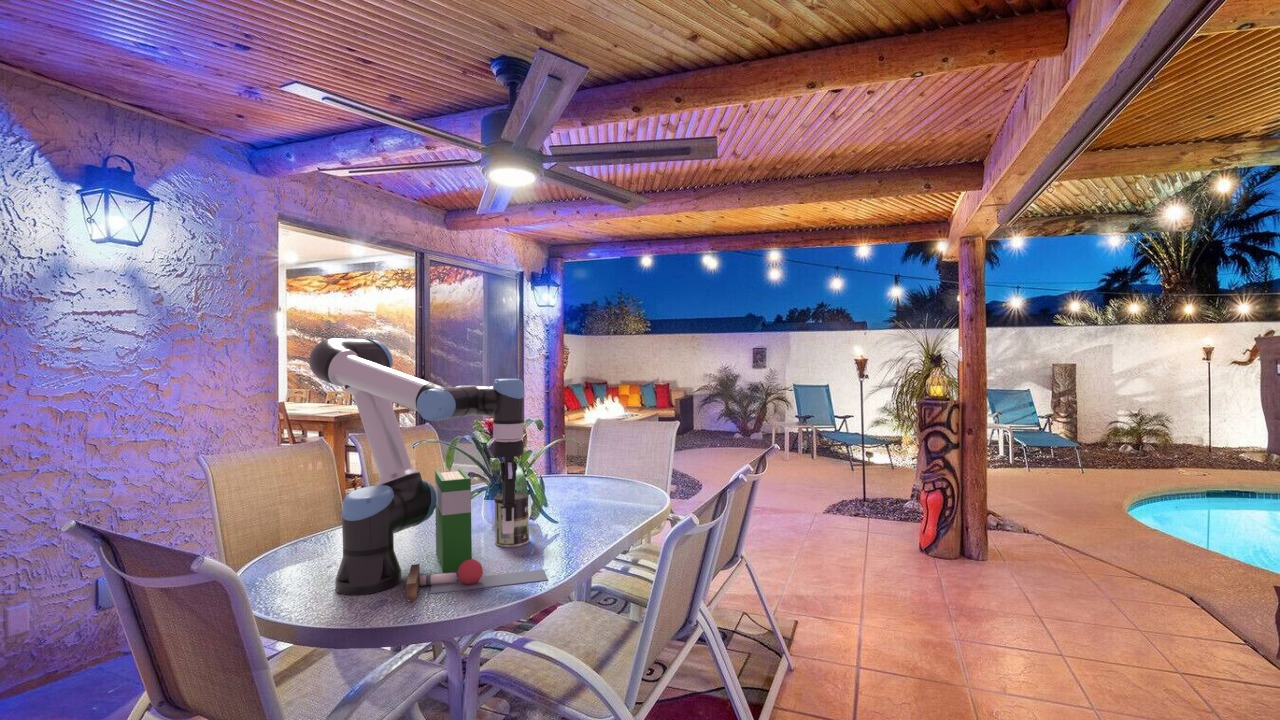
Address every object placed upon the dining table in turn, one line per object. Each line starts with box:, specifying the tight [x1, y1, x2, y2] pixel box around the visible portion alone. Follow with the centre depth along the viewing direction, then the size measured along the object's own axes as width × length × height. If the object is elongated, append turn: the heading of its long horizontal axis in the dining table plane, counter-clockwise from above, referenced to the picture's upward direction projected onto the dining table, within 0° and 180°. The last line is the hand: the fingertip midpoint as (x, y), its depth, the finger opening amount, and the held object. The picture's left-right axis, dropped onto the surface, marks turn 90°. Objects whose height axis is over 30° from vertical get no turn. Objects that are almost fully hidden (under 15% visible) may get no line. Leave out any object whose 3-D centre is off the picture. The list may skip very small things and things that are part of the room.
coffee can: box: [493, 492, 530, 548], centre depth 186 cm, size 10×10×14 cm
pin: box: [419, 572, 457, 587], centre depth 152 cm, size 2×2×8 cm
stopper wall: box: [406, 563, 421, 602], centre depth 148 cm, size 2×14×4 cm, turn 16°
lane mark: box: [430, 569, 549, 595], centre depth 153 cm, size 28×8×1 cm, turn 106°
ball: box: [457, 558, 484, 585], centre depth 151 cm, size 6×6×6 cm
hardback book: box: [434, 468, 473, 574], centre depth 170 cm, size 18×7×24 cm, turn 24°
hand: (508, 532), depth 155 cm, fingers closed
